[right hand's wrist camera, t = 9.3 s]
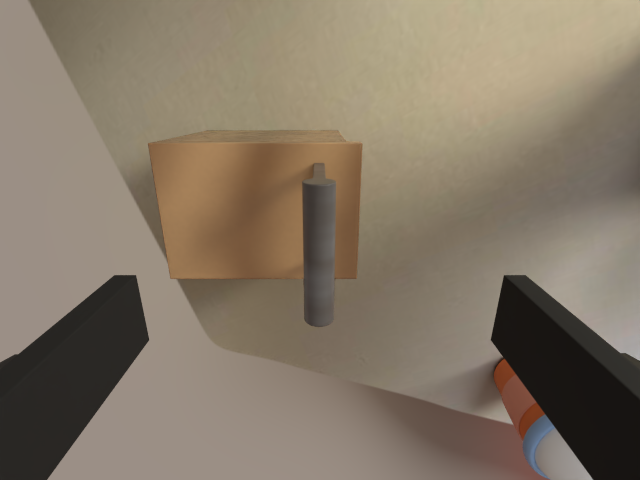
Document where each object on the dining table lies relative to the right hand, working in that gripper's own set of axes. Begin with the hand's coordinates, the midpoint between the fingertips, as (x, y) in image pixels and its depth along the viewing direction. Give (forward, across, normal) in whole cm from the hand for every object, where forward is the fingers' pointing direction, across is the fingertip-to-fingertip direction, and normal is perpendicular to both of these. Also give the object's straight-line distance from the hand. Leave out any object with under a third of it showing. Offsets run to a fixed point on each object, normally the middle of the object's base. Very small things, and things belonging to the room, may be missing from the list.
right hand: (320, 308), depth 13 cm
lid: (+13, -4, 0) cm, 14 cm away
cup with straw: (+24, +25, -24) cm, 42 cm away
